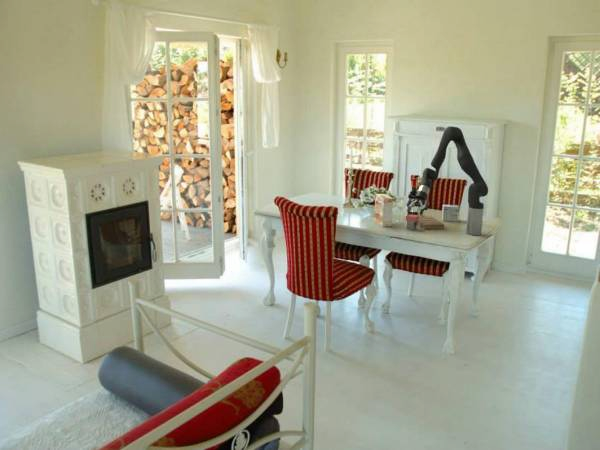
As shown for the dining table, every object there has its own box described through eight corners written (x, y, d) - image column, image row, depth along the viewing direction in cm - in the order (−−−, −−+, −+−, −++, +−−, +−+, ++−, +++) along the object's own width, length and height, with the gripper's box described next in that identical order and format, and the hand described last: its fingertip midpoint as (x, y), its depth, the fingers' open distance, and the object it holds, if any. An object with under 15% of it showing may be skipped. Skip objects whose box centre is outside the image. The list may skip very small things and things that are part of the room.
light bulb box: (456, 219, 405) (457, 204, 402) (458, 221, 398) (459, 206, 395) (441, 219, 406) (442, 204, 403) (442, 221, 399) (443, 206, 396)
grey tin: (416, 228, 377) (417, 217, 375) (413, 230, 373) (414, 218, 371) (409, 227, 380) (410, 215, 378) (406, 229, 376) (407, 217, 374)
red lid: (418, 219, 376) (419, 215, 375) (414, 221, 371) (415, 217, 370) (409, 218, 379) (409, 214, 378) (405, 220, 374) (405, 215, 373)
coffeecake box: (373, 221, 394) (375, 193, 389) (383, 221, 396) (384, 193, 391) (381, 226, 380) (383, 198, 375) (391, 226, 382) (393, 197, 377)
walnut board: (444, 228, 378) (444, 224, 378) (424, 229, 376) (424, 224, 375) (430, 220, 399) (431, 216, 399) (411, 221, 397) (412, 217, 396)
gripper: (411, 189, 384) (402, 208, 377) (431, 191, 376) (423, 211, 370) (414, 195, 389) (405, 214, 383) (433, 198, 381) (425, 218, 375)
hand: (414, 213), depth 376 cm, fingers open, 8 cm apart
